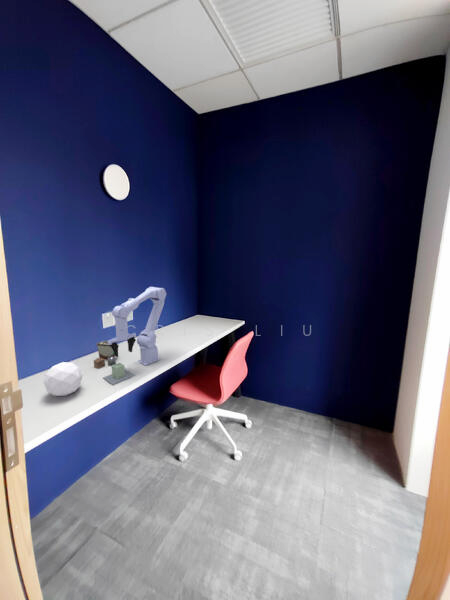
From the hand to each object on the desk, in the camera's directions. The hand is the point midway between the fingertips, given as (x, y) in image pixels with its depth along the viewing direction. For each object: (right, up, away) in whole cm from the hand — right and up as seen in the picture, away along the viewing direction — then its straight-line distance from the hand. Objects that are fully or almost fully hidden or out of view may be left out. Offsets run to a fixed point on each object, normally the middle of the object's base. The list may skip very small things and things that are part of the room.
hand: (123, 353), depth 133 cm
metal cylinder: (-11, -8, +11) cm, 18 cm away
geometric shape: (-19, -14, -18) cm, 30 cm away
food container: (-16, -7, +19) cm, 26 cm away
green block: (-1, -11, -3) cm, 11 cm away
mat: (-1, -11, -3) cm, 12 cm away
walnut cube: (-17, -9, +8) cm, 20 cm away
